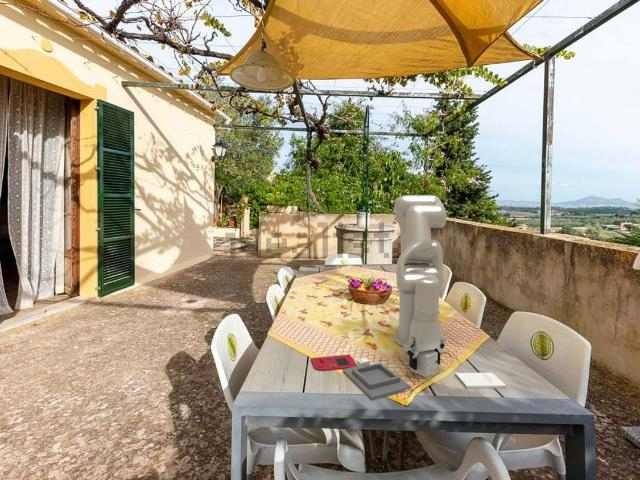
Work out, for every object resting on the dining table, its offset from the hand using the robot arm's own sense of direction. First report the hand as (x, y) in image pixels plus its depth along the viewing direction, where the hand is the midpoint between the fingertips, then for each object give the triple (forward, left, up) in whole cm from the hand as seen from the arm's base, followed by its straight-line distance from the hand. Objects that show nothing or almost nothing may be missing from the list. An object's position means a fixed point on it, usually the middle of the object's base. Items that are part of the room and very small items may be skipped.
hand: (424, 365), depth 114 cm
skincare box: (0, 0, -3) cm, 3 cm away
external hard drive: (+11, +12, -3) cm, 17 cm away
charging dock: (-2, -18, -3) cm, 18 cm away
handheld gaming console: (-18, -25, -3) cm, 31 cm away
